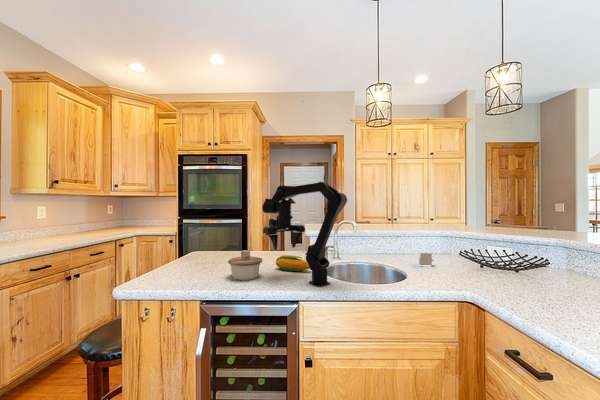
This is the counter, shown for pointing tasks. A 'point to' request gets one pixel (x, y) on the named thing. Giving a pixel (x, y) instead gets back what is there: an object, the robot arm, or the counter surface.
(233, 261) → the lid
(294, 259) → the corn
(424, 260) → the architectural model
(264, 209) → the robot arm
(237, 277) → the ramekin
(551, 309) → the counter surface
